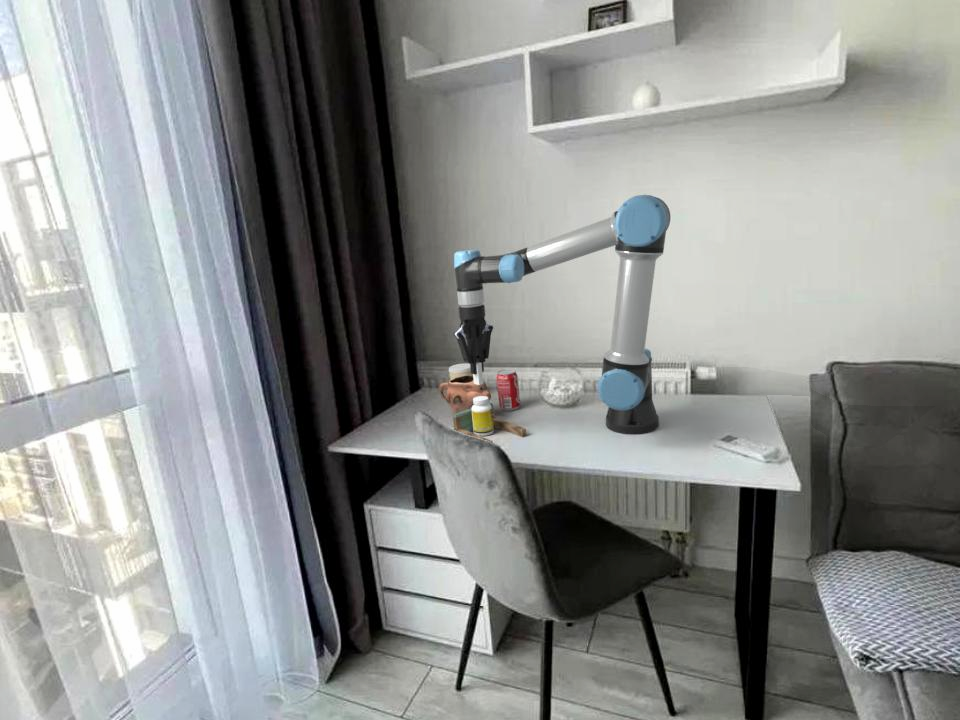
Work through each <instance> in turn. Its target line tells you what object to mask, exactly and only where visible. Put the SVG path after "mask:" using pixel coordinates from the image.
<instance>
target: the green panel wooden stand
mask: <svg viewBox="0 0 960 720" xmlns="http://www.w3.org/2000/svg"><path fill="white" fill-rule="evenodd" d="M489 404H490V405H491V406H492V414H493V426H494V428H498V429H500V430H502V431H505V432H508V433H511V434H513V435H516V436H518V437H521V438H524V437H527V428H525V427H522V426H519V425H518V424H514V423H511V422H509V421H505V420H503V419H500V418H498V417H497V418H496V417H494V408H493V407H494V406H493V403H492V402H490V401H489ZM452 419H453V420H452V421H453V429H454V430H456V431H458V432H461V433H464V434H467V435H470V436H473V437H476V438H480V439H483V440H487V441H489V442H492V443H493V440H491V439H488V438H486V437H485V436H479V435H476V434H474V431H473V421H472V408H470V409H467V410H464V411H461V412H458V413H455V414H453V413H452Z"/></svg>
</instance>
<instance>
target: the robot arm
mask: <svg viewBox="0 0 960 720" xmlns="http://www.w3.org/2000/svg"><path fill="white" fill-rule="evenodd" d="M670 224H671V211H670V208H669V207H668V205H667V203H665V201H664V200H663V199H661V198H659V197H657V196H653V195H649V194H637V195H634V196H631V197H630V198H628V199H627V200H626V201H624V202H623V203H622V205H621V206H620V207H619V209H618V210H617V211H614V212H613V213H612V215H611V217H608V218H605V219H603V220H599V221H596V222H594V223H592V224H589V225H586V226H583V227H581V228H577V229H574V230H572V231H570V232H566V233H563V234H561V235H558V236H555V237H552V238H549V239H546V240H544V241H541V242H539V243H535V244H533V245H529V246H528V247H527V246H526V247H524V248H522V249H519V250H516V251H513V252H509V253H505V254H499V255H489V256H485V255H484V256H481V251H480V250H478V249H468V250H458V251H456V252H454V254H453V255H454V256H453V259H454V262H453V263H454V264H453V265H454V269H453V270H454V273H455V274H454V275H455V282H456V292H457V293H456V294H457V295H456V296H457V304H458V305H459V306H458V314H459V316H458V317H459V319H460V320H459V321H460V324H459V329H458V330H457V331H454V332H453V336H454V337H455V339H456V341H457V344H458V347H459V350H460V353H461V356H462V359H463V362H465V363H467V364H470V368H471V374H473V379H474V384H477V385H481V384H483V381H484V377H483V373H484V371H485V369H484V363H485V362H486V360H487V359H489V355H490V348H491V347H490V346H491V336H492V333H493V329H494V326H493V325H490V324H488V323H487V321H486V308H485V307H486V306H485V304H484V303H485V295H484V286H483V285H484V284H500V283H501V284H505V283H507V284H511V283H517V282H521V281H522V280H523V278H524V277H525V276H527V275H531V274H534V273H536V272H538V271H542V270H545V269H547V268H548V269H549V268H550V267H555V266H557V265H559V264H562V263H566V262H569V261H572V260H575V259H577V258H578V259H579V258H582V257H585V256H587V255H591V254H594V253H596V252H599V251H602V250H605V249H608V248H612V247H614V248H615V249H614V251H615V253H616V255H618V257H619V259H620V260H619V268H618V275H617V276H618V278H617V286H616V294H615V295H616V296H615V302H614V303H615V305H614V311H613V312H614V314H613V321H612V322H613V324H612V331H611V341H610V349H609V350H608V351H607V352H605V353H604V355H603V360H602V369H601V376H600V377H599V379H598V383H597V394H598V396H599V398H600V400H601V401H602V402H603V404H605V405H606V406H607V407H608V409H607V412H606V416H605V427H606V428H607V429H609V430H611V431H613V432H616V433H620V434H626V435H628V434H629V435H630V434H631V435H636V434H637V435H639V434H645V433H646V434H647V433H650V432H652V431H655V430H657V429H658V428H659V427H660V418H659V415H658V413H657V410H656V407H655V404H654V401H653V381H652V379H653V378H652V377H653V375H652V368H653V367H652V362H653V358H652V352H651V350H650V349H648V348H646V341H647V332H648V325H649V317H650V310H651V308H650V307H651V301H652V300H651V299H652V294H653V286H654V285H653V284H654V278H655V270H656V261H657V260H658V259H659V258H660V257H661V256H662V255H664V251H665V243H666V234H667V230H668V229H669V226H670Z"/></svg>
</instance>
